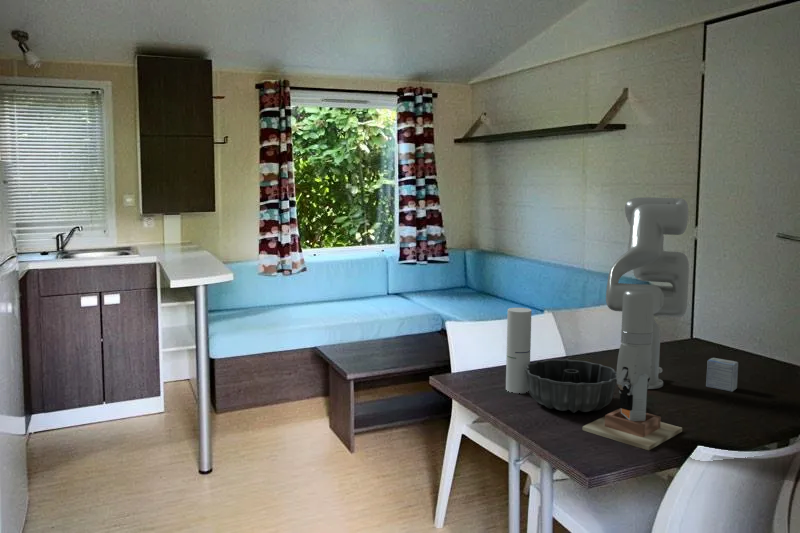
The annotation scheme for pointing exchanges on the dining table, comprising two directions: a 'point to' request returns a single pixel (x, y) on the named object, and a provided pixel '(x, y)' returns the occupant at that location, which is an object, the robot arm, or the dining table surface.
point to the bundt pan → (571, 384)
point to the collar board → (633, 430)
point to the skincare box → (638, 400)
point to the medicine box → (722, 374)
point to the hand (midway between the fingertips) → (633, 405)
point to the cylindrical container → (518, 349)
